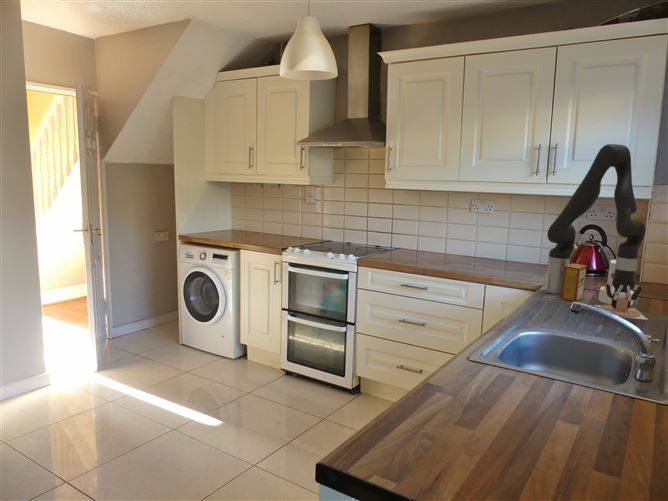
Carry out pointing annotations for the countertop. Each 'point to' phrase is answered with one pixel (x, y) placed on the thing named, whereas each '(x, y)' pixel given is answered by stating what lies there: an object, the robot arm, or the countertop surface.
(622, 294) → the bowl
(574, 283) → the baking soda box
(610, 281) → the supplement box
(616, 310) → the lid
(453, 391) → the countertop surface
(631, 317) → the mat
